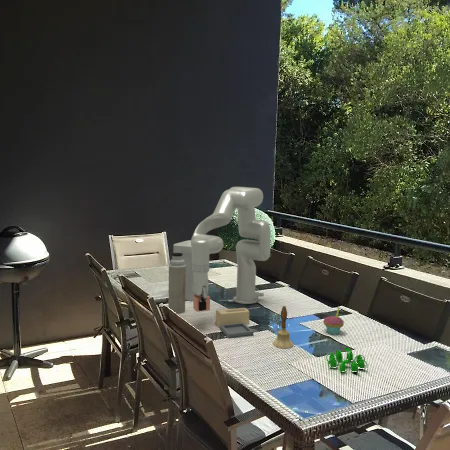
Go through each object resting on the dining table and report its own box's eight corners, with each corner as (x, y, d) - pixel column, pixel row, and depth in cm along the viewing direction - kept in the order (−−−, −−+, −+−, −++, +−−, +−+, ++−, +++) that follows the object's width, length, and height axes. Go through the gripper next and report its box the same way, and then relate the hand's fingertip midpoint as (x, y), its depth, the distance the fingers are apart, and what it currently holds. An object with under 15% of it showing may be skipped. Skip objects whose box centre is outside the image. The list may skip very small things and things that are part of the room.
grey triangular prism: (168, 293, 269) (168, 241, 265) (194, 290, 275) (195, 240, 270) (179, 303, 252) (179, 248, 247) (207, 301, 257) (208, 247, 253)
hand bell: (280, 350, 198) (281, 310, 195) (268, 342, 205) (270, 304, 202) (297, 346, 202) (299, 308, 199) (285, 339, 209) (287, 302, 206)
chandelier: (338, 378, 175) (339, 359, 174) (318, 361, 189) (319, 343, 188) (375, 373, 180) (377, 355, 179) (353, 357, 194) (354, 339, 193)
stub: (206, 306, 223) (206, 293, 222) (209, 310, 218) (210, 296, 217) (193, 308, 221) (193, 294, 220) (196, 311, 216) (196, 298, 215)
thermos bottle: (187, 309, 244) (188, 252, 240) (182, 314, 236) (183, 255, 232) (171, 307, 245) (171, 251, 241) (166, 312, 238) (166, 254, 233)
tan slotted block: (244, 320, 230) (245, 307, 229) (248, 324, 225) (249, 311, 224) (215, 323, 225) (215, 310, 224) (219, 327, 220) (219, 313, 220)
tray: (243, 326, 222) (243, 322, 222) (253, 335, 212) (253, 331, 212) (219, 329, 218) (219, 325, 218) (228, 338, 208) (229, 334, 208)
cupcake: (344, 330, 221) (345, 304, 219) (341, 337, 213) (343, 309, 211) (324, 327, 224) (325, 301, 222) (321, 334, 216) (322, 307, 214)
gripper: (186, 263, 222) (186, 302, 226) (198, 273, 207) (198, 315, 210) (202, 261, 225) (202, 300, 228) (215, 271, 209) (215, 313, 213)
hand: (200, 307), depth 219 cm, fingers closed on stub, 5 cm apart
